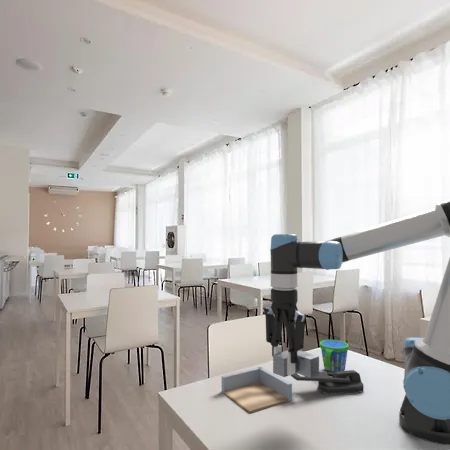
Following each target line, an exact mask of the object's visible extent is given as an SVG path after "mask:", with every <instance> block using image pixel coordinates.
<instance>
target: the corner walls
mask: <svg viewBox="0 0 450 450" xmlns="http://www.w3.org/2000/svg"><path fill="white" fill-rule="evenodd" d="M257 382H261V383H263V384H264V385H266V386H268V387H269V388H271V389H273V390H274V391H276V392H278V393H279V394H281V395H283V396H284V397H286V398H287V399H288V401H287V402H289V401H293V390H292V389H293V387H292V386H293V384H292V383H291V382H290V381H288V380H287V379H285V378H282V376H280V375H277V374H275V373H273V372H272V371H269V370H267V369H266V368H264V367H262V366H257V367H254V368H250V369H245V370H241V371H238V372H233V373H232V372H231V373H229V374H224V375H221V392H222V393H223V394H224V391H227V390H231V389H234V388H238V387H242V386H246V385H250V384H253V383H257Z"/></svg>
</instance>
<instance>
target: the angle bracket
mask: <svg viewBox="0 0 450 450" xmlns="http://www.w3.org/2000/svg"><path fill="white" fill-rule="evenodd" d="M288 350H289V349H287V350H285V351H283V350H282V352H280V353H277V354H274V355H273V356H272V373H273V374H275V375H277V376H279V377H281V378H282V377H283V378H287V377H289V376H288V375H287V351H288ZM319 372H320V356H319V355H316V354H313V353H308V352H305V351H303V350H299V351H297V363H295V373H297V374H298V375H300V376H302V377H305V376H306V377H309V378H312V377H315V376H317V375H319Z"/></svg>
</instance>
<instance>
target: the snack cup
mask: <svg viewBox="0 0 450 450" xmlns="http://www.w3.org/2000/svg"><path fill="white" fill-rule="evenodd" d="M319 348H320V350H321V357H322V362H323V368H324V370H325V371H326V372H328V373H334V372H337V371H346V364H347V357H348V352H349V348H350V346H349V343H347V342H345V341H343V340H337V339H324V340H321V341H320V342H319Z"/></svg>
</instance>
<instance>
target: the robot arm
mask: <svg viewBox="0 0 450 450" xmlns="http://www.w3.org/2000/svg"><path fill="white" fill-rule="evenodd" d="M443 236H446V237H448V238H450V199H447V200H444V201H441V202H438V203H436V205H434V207H433V208H431V209H428V210H424V211H421V212H417V213H414V214H411V215H408V216H404V217H402V218H398V219H394V220H391V221H388V222H384V223H381V224H378V225H375V226H372V227H369V228H366V229H361V230H359V231H355V232H352V233H349V234H346V235H342V236H340V237H339V236H338V237H335V238H332V239H329V240H311V241H309V240H308V241H307V240H306V241H301V240H299V239H298V236H297V234H294V233H293V234H292V233H289V234H285V233H284V234H283V233H282V234H280V233H279V234H278V233H275V234H272V236H271V237H270V238H271V239H270V248H269V251H270V287H271V289H270V302H271V306H269V307H264V308H263V311H264V316H265V340H266V341H265V342H266V343H270V346H271V356H272V357H273V355H274V354H277V353H280V352H283V350H282V348H283V346H282V345H281V344H282V342H280V341H281V337H282V329H283V325H284V327H285V331H286V337H287V342H288V343H287V344H288V349H287V350H288V351H287V350H286V351H287V375H288V376H287V377H291V375H292V374H295V363H297V351H299V350H300V351H303V349H304V348H305V344H304V343H305V342H304V341H305V321H306V319H307V315H306V313H301V312H300V311H299V310H298V307H297V304H298V300H299V299H298V298H299V297H298V290H297V287H298V268H299V269H316V270H325V271H326V270H327V271H329V270H339V269H341V268H342V264H343V263H346V262H350V261H353V260H357V259H361V258H364V257H368V256H372V255H375V254H379V253H383V252H387V251H391V250H394V249H398V248H402V247H407V246H408V245H412V244H417V243H420V242H425V241H428V240H433V239H436V238H439V237H443ZM403 345H404V346H403V350H404V372H403V373H404V374H403V375H404V378H403V390H404V392H405V394H404V398H403V400H402V403H401V407H400V409H399V413H398V416H399V419H398V420H399V424H400V426H401V427H402V428H403V429H404V430H405V431H406V432H408V433H409V434H411V435H413V436H414V437H417V438H419V439H422V440H424V441H427V442H431V443H435V444H442V445H450V257H449V258H448V261H447V264H446V268H445V271H444V274H443V278H442V281H441V284H440V287H439V289H438V293H437V297H436V299H435V303H434V306H433V310H432V313H431V316H430V319H429V322H428V325H427V328H426V331H425V334H424V337H412V336H411V337H406V338H405V339H404V344H403Z"/></svg>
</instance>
